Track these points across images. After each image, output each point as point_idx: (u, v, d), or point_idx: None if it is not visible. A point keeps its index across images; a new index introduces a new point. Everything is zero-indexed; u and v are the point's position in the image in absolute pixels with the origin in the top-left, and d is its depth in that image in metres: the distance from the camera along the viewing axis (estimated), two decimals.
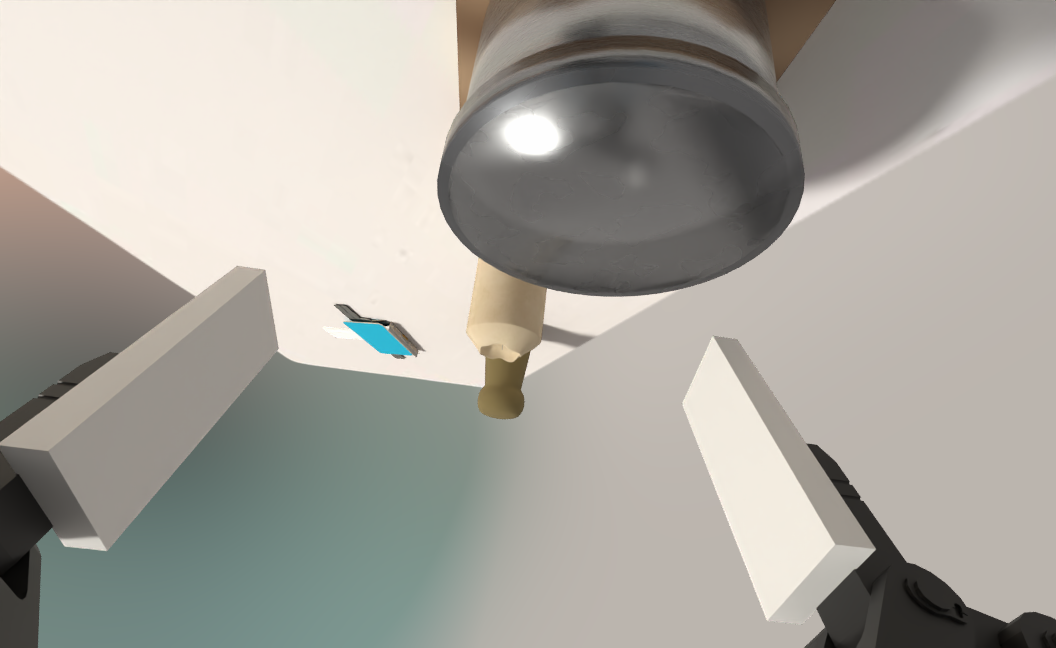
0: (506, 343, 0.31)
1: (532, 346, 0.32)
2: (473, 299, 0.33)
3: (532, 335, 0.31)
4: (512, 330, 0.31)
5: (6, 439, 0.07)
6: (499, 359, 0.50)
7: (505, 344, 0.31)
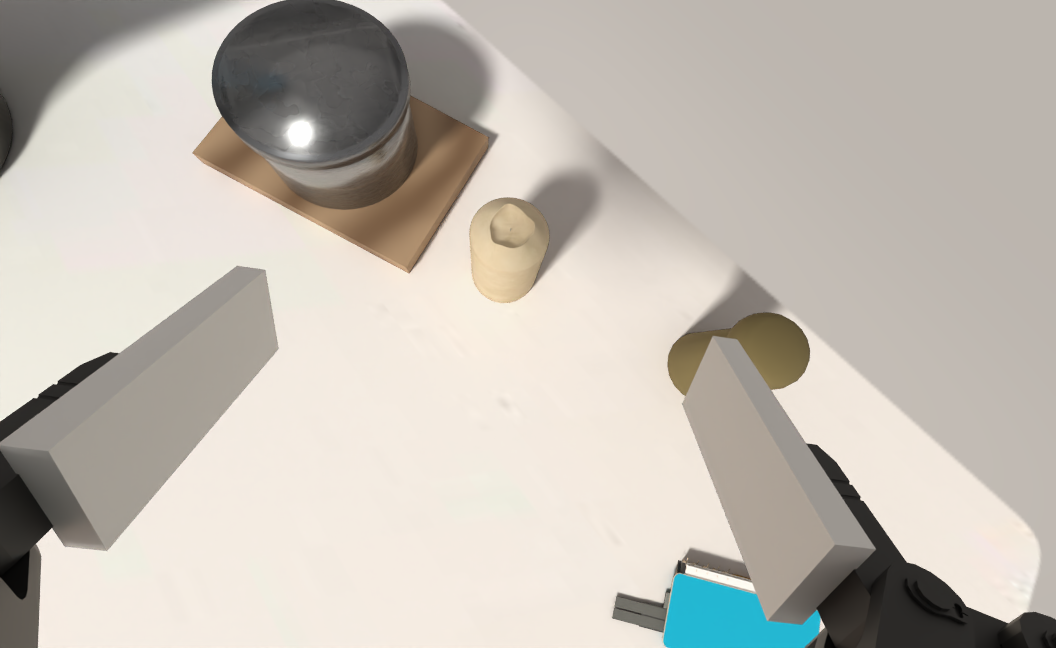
0: (491, 214, 0.30)
1: (518, 201, 0.31)
2: (478, 268, 0.33)
3: (501, 198, 0.31)
4: (482, 209, 0.31)
5: (6, 439, 0.07)
6: (702, 355, 0.34)
7: (492, 215, 0.30)
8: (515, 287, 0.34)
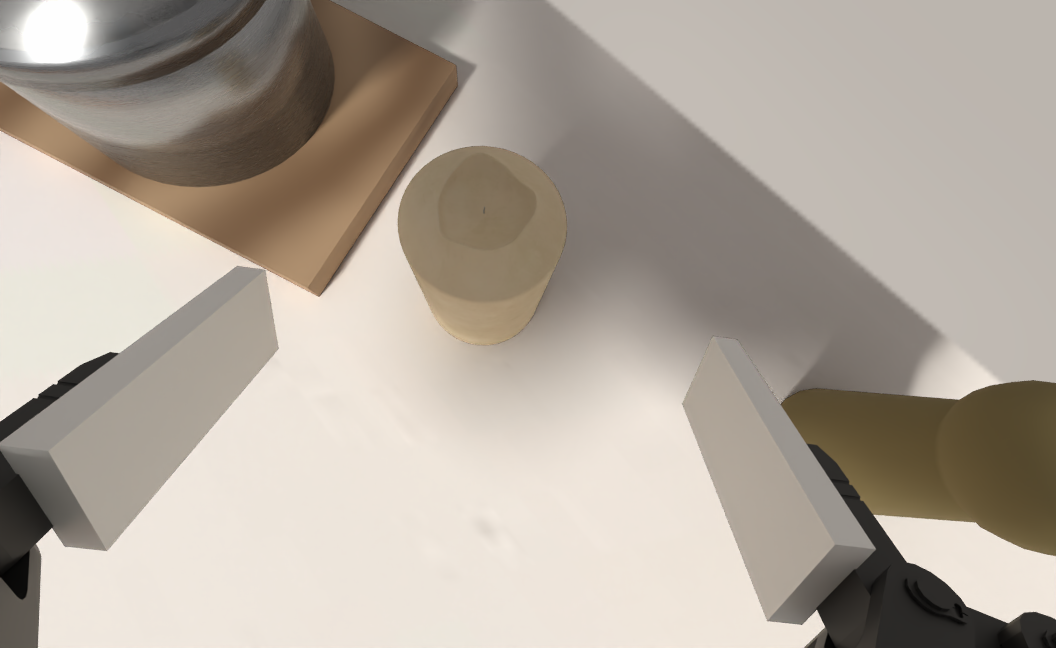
0: (441, 177, 0.14)
1: (500, 152, 0.15)
2: (425, 291, 0.16)
3: (466, 148, 0.15)
4: (425, 170, 0.15)
5: (6, 439, 0.07)
6: (861, 449, 0.18)
7: (443, 179, 0.14)
8: (499, 325, 0.18)
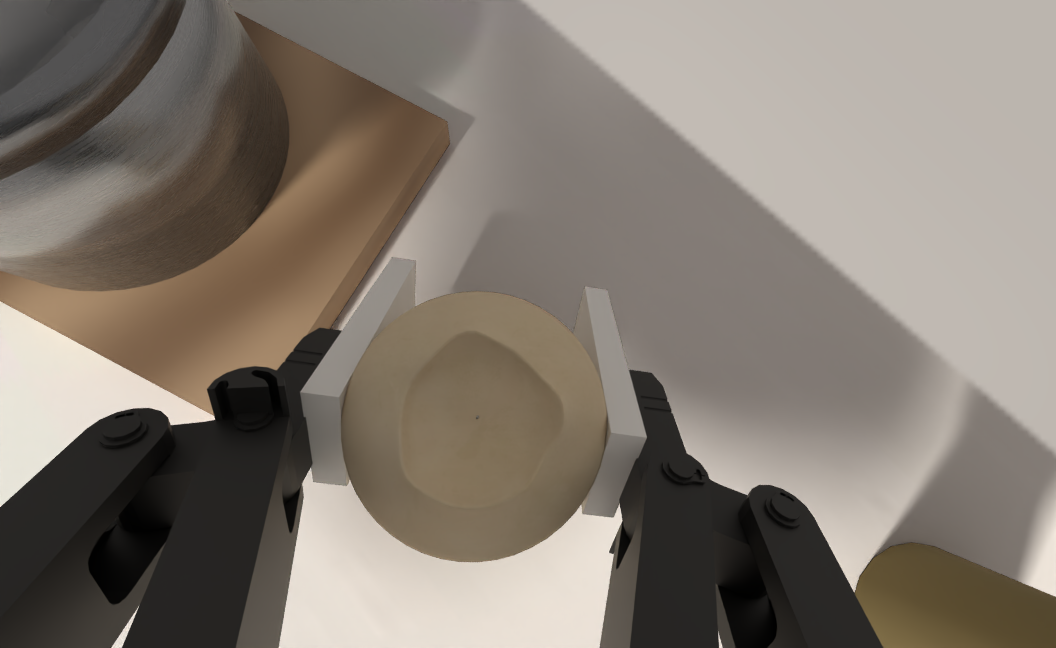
0: (408, 367, 0.08)
1: (504, 312, 0.09)
2: None
3: (451, 299, 0.10)
4: (385, 339, 0.09)
5: (304, 388, 0.09)
6: None
7: (410, 371, 0.08)
8: None
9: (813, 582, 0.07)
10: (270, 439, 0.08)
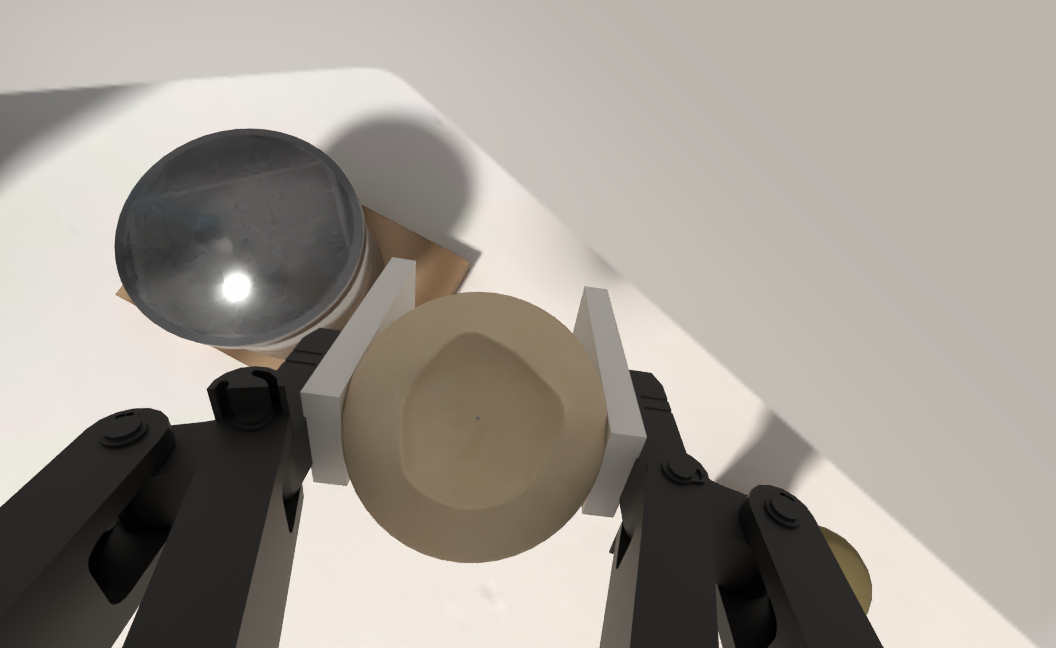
0: (409, 368, 0.08)
1: (504, 312, 0.09)
2: None
3: (451, 299, 0.10)
4: (386, 340, 0.09)
5: (305, 388, 0.09)
6: None
7: (411, 372, 0.08)
8: None
9: (813, 582, 0.07)
10: (270, 439, 0.08)
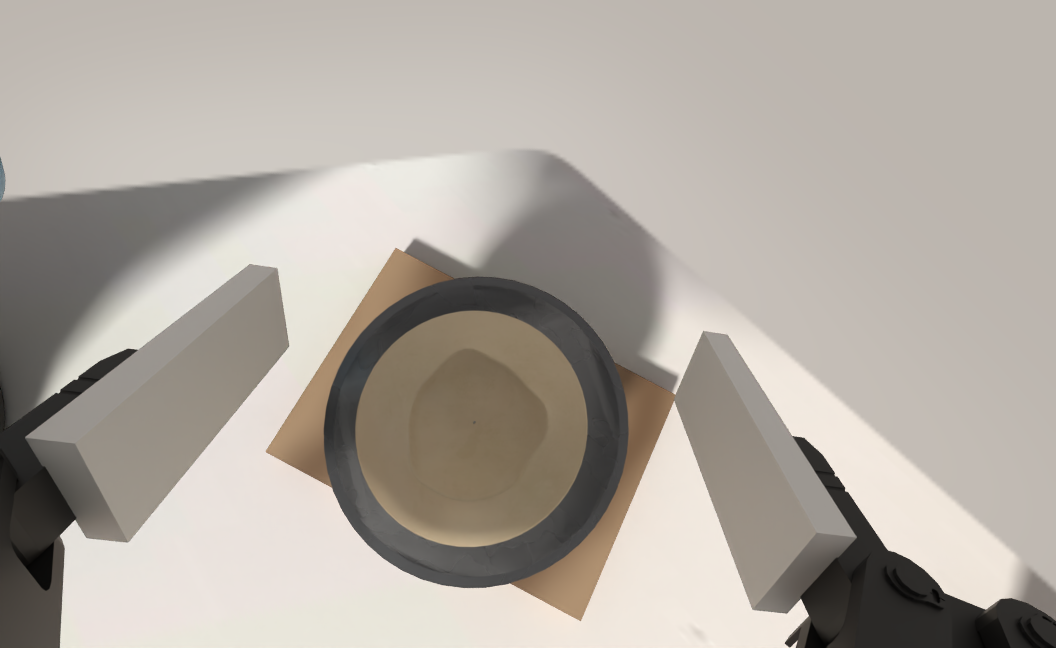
0: (414, 379, 0.10)
1: (497, 330, 0.11)
2: None
3: (451, 317, 0.11)
4: (394, 354, 0.11)
5: (33, 432, 0.07)
6: None
7: (416, 383, 0.10)
8: None
9: None
10: None
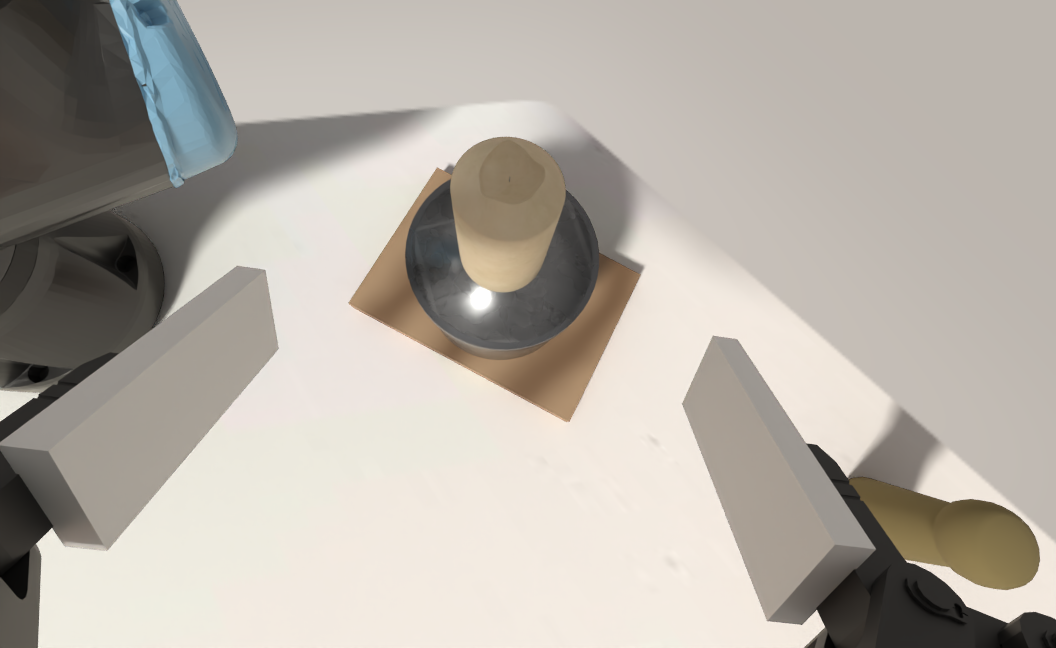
0: (481, 156, 0.21)
1: (520, 141, 0.21)
2: (465, 239, 0.23)
3: (496, 138, 0.22)
4: (469, 152, 0.21)
5: (6, 439, 0.07)
6: (892, 524, 0.33)
7: (482, 157, 0.21)
8: (516, 267, 0.25)
9: None
10: None
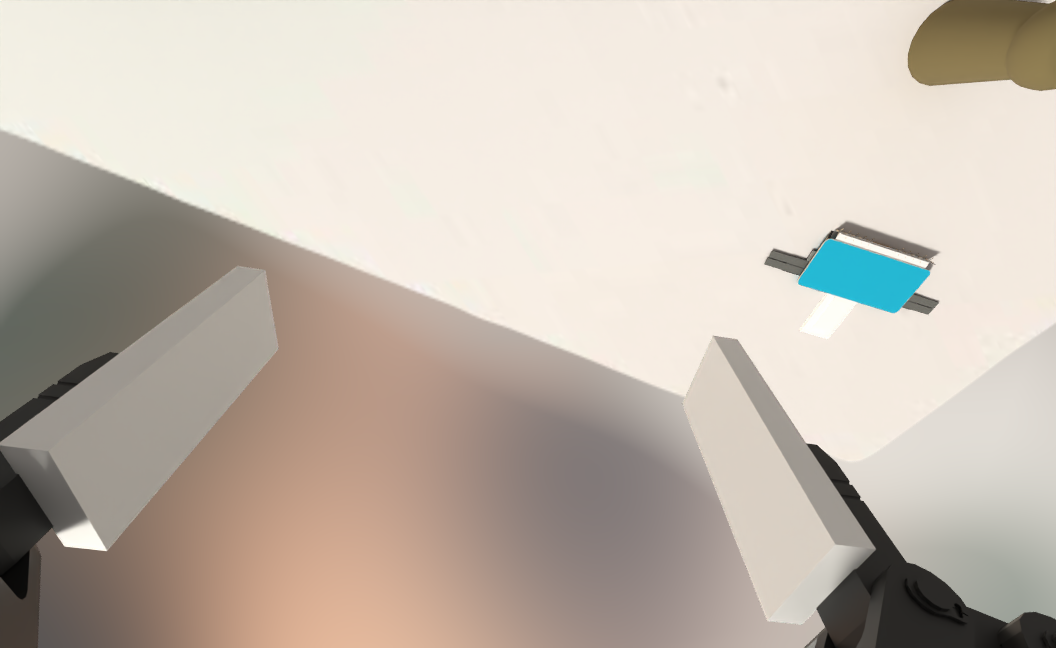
0: None
1: None
2: None
3: None
4: None
5: (6, 439, 0.07)
6: (974, 37, 0.31)
7: None
8: None
9: None
10: None
